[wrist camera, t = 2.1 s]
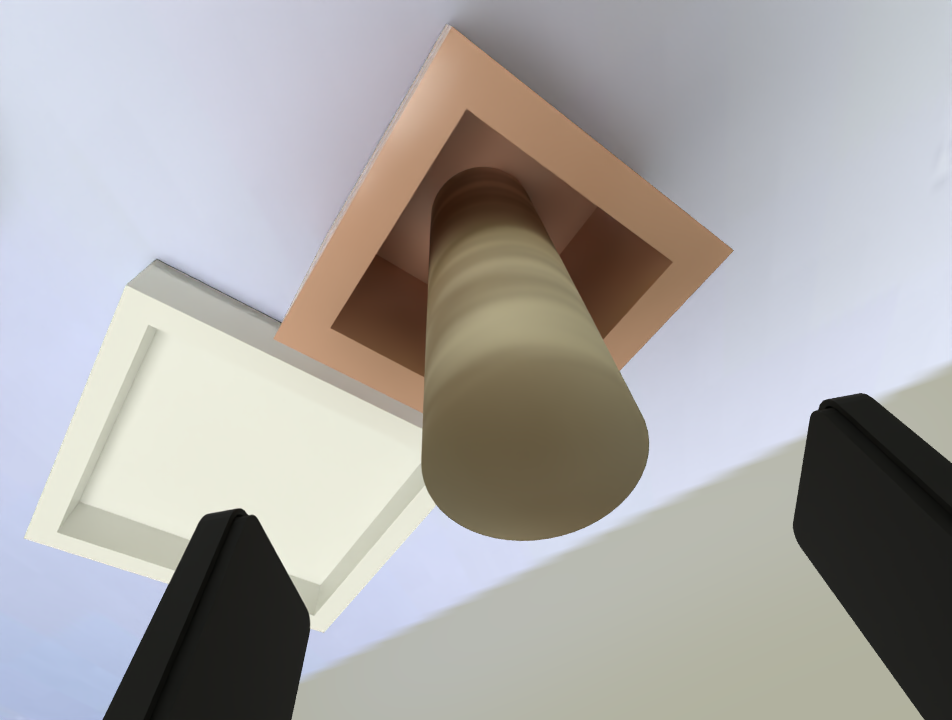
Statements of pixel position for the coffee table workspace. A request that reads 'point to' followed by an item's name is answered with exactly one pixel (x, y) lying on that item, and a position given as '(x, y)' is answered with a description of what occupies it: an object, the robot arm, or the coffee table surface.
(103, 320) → the coffee table surface
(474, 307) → the birch dowel
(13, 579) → the coffee table surface
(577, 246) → the terracotta cup
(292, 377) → the cream tray
